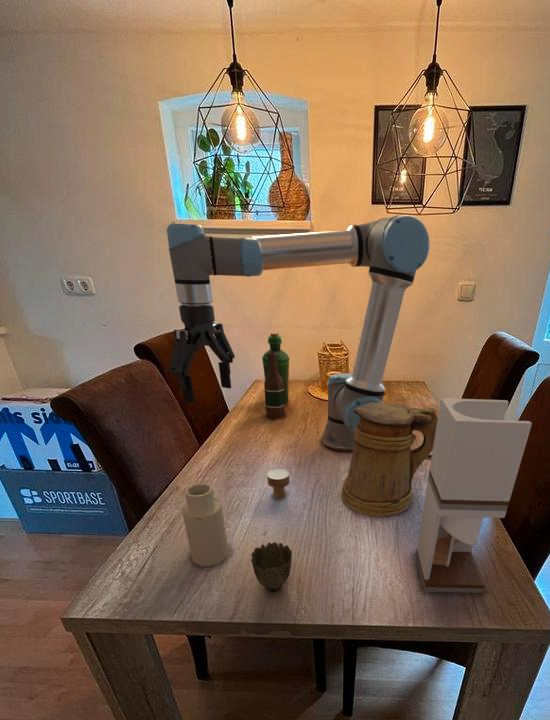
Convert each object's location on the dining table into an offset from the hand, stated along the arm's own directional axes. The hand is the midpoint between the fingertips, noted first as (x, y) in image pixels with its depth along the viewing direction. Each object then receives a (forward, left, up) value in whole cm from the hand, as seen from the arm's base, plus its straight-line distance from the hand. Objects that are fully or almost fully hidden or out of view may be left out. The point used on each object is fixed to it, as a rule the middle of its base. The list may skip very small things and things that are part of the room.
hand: (209, 394), depth 102 cm
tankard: (-45, +14, -24) cm, 53 cm away
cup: (-18, +45, -24) cm, 54 cm away
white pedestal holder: (-53, +43, -24) cm, 73 cm away
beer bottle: (-12, -47, -24) cm, 54 cm away
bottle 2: (-12, -62, -24) cm, 67 cm away
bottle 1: (-4, +36, -23) cm, 43 cm away
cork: (-17, +13, -23) cm, 32 cm away
